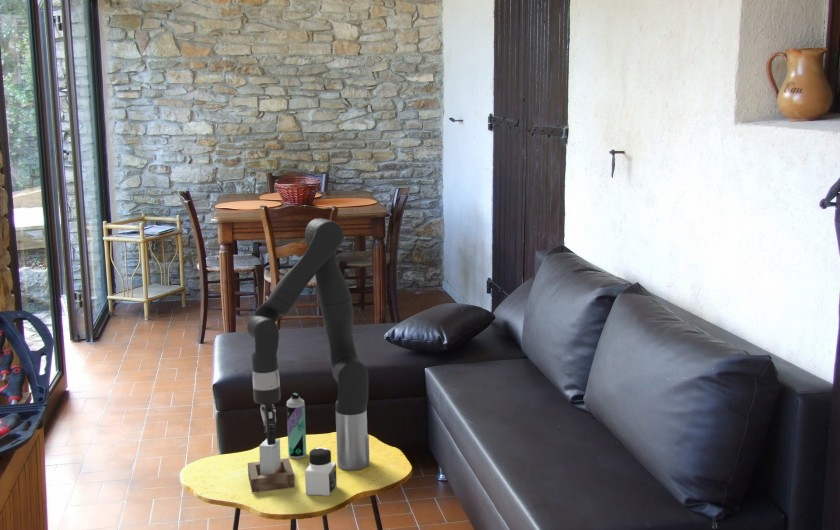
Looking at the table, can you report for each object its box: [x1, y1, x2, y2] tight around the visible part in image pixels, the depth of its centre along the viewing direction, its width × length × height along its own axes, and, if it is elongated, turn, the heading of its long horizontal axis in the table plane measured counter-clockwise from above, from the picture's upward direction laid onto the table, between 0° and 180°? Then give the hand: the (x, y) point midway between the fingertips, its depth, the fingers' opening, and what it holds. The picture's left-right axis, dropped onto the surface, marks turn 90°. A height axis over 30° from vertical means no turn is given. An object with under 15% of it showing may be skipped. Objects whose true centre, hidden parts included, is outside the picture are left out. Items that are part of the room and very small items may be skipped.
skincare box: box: [259, 438, 281, 475], centre depth 256 cm, size 6×4×12 cm
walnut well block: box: [247, 457, 296, 493], centre depth 257 cm, size 12×12×4 cm
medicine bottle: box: [304, 447, 338, 497], centre depth 250 cm, size 7×7×12 cm
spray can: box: [286, 392, 307, 460], centre depth 274 cm, size 6×6×20 cm
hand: (269, 438), depth 255 cm, fingers open, 8 cm apart
